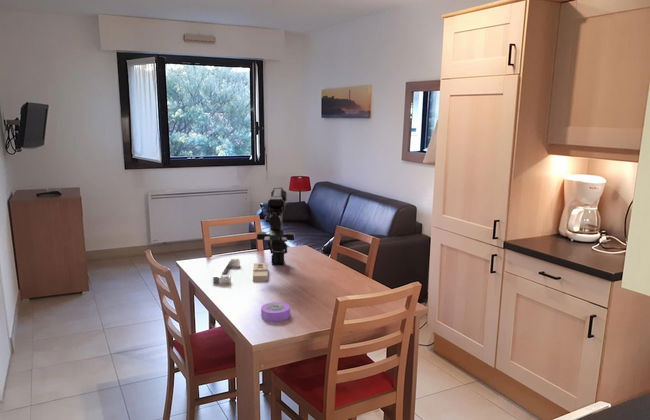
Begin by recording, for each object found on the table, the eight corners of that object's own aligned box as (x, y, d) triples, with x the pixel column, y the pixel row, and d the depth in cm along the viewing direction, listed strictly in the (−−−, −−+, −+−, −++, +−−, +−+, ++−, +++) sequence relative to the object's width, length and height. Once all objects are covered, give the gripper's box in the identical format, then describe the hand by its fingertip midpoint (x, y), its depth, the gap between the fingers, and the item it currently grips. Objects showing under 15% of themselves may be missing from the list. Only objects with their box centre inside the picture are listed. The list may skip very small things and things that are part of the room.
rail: (240, 265, 261) (239, 258, 260) (229, 284, 231) (229, 277, 230) (225, 265, 261) (225, 258, 260) (212, 284, 230) (212, 277, 230)
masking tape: (255, 317, 194) (255, 308, 194) (273, 308, 204) (273, 299, 203) (277, 324, 188) (277, 315, 187) (295, 314, 198) (295, 305, 197)
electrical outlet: (252, 274, 236) (253, 263, 253) (252, 282, 236) (253, 270, 254) (267, 273, 236) (267, 262, 254) (267, 281, 237) (267, 270, 255)
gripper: (255, 225, 233) (255, 256, 236) (293, 226, 233) (293, 257, 236) (258, 220, 244) (258, 250, 247) (294, 221, 244) (294, 251, 247)
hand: (276, 252), depth 244 cm, fingers open, 4 cm apart
